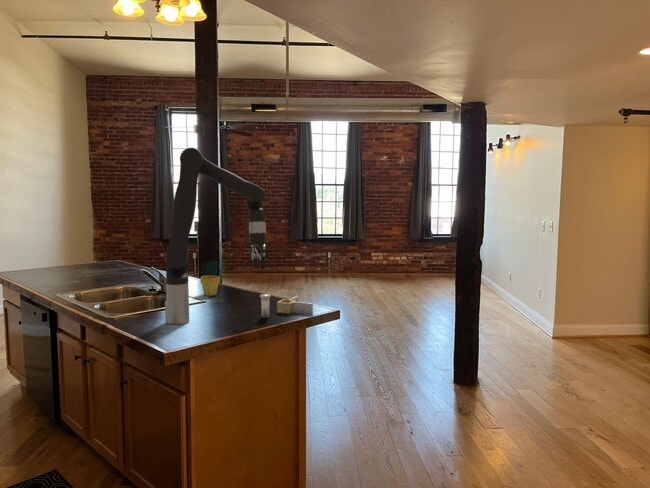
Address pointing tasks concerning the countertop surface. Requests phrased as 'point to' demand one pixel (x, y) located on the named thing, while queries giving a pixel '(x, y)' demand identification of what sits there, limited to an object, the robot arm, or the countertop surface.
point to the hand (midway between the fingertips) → (259, 268)
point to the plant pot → (210, 284)
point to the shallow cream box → (294, 306)
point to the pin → (265, 305)
